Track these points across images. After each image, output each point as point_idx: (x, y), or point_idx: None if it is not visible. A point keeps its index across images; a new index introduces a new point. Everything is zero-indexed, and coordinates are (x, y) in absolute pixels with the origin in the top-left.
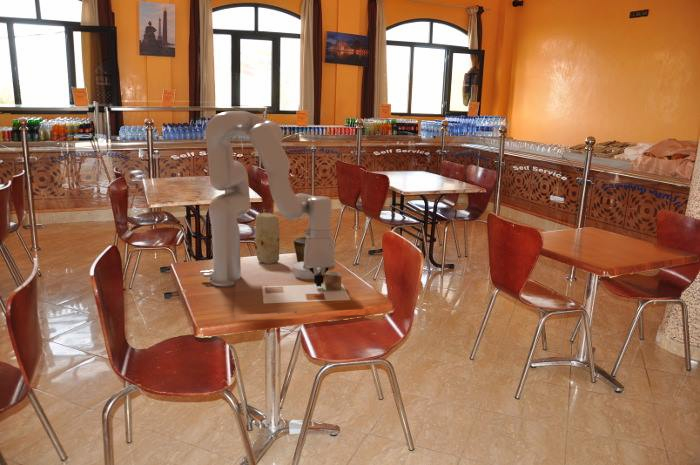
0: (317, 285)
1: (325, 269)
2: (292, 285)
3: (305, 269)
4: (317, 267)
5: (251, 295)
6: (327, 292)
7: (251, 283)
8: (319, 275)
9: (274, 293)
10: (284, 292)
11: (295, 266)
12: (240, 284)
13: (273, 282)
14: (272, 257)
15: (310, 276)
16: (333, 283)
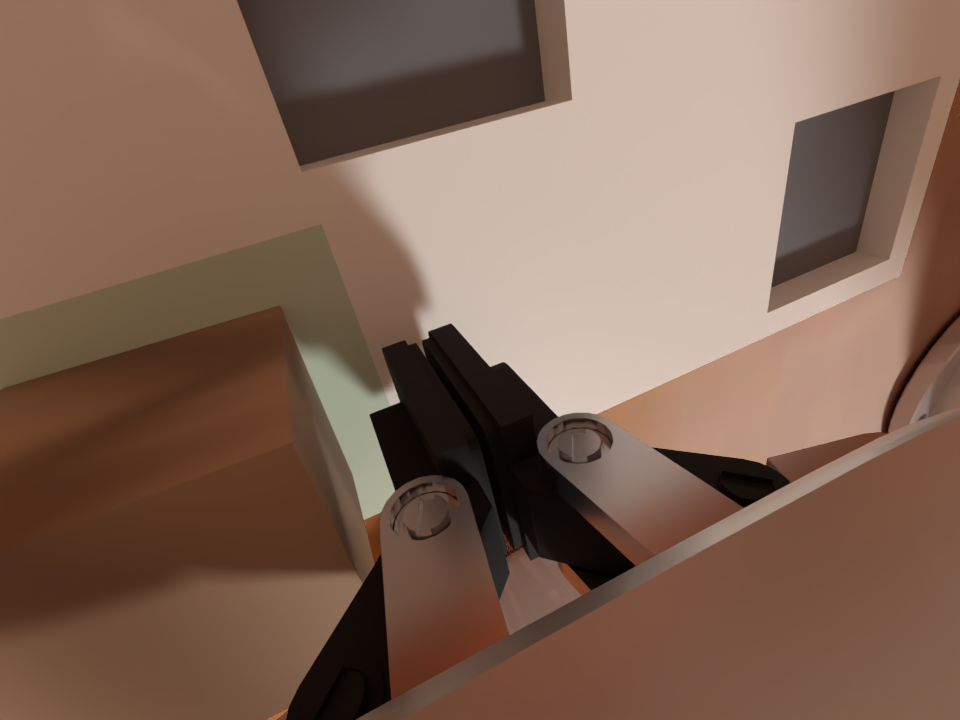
0: (445, 329)
1: (385, 661)
2: (687, 369)
3: (840, 441)
4: (702, 535)
5: (952, 131)
6: (234, 226)
7: (872, 385)
8: (481, 462)
9: (878, 80)
10: (787, 132)
11: None
12: (926, 348)
13: (757, 449)
14: None
15: (544, 594)
16: (128, 409)
